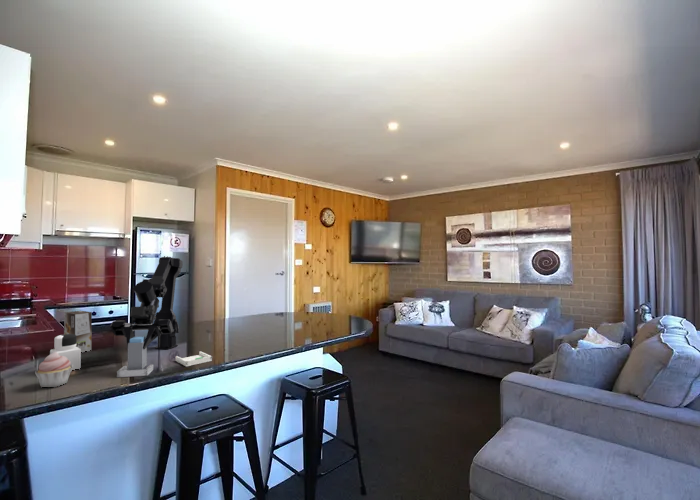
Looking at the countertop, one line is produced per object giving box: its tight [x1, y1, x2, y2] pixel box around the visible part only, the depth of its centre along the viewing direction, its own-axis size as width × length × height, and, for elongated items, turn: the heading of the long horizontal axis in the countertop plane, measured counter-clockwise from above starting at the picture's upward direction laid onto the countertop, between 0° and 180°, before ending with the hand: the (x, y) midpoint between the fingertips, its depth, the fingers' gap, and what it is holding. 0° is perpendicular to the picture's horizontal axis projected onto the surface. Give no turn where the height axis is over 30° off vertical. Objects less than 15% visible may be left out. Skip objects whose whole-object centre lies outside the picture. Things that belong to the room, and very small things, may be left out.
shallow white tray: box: [116, 363, 154, 378], centre depth 121 cm, size 6×9×2 cm, turn 101°
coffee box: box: [63, 310, 93, 353], centre depth 149 cm, size 9×6×16 cm
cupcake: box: [34, 352, 73, 388], centre depth 111 cm, size 9×9×10 cm
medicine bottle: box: [49, 333, 82, 371], centre depth 125 cm, size 7×7×12 cm
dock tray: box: [175, 351, 213, 367], centre depth 136 cm, size 10×10×2 cm
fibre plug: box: [127, 336, 148, 370], centre depth 123 cm, size 4×4×10 cm
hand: (136, 348), depth 121 cm, fingers closed on fibre plug, 4 cm apart
